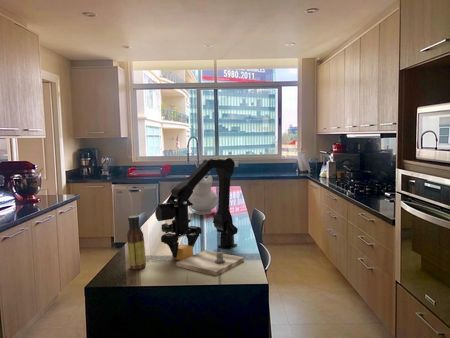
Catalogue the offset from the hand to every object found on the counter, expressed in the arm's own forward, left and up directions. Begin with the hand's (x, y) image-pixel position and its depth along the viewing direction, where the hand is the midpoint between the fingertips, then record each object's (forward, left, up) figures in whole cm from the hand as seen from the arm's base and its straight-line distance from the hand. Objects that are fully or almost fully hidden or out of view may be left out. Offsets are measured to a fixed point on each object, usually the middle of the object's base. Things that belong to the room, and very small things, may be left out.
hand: (182, 254), depth 151 cm
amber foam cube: (0, 0, -1) cm, 1 cm away
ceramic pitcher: (-74, -49, -1) cm, 89 cm away
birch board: (0, +14, -1) cm, 15 cm away
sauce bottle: (+18, -7, -1) cm, 19 cm away
